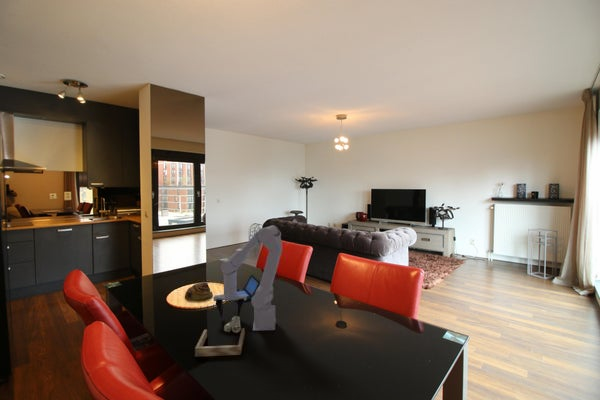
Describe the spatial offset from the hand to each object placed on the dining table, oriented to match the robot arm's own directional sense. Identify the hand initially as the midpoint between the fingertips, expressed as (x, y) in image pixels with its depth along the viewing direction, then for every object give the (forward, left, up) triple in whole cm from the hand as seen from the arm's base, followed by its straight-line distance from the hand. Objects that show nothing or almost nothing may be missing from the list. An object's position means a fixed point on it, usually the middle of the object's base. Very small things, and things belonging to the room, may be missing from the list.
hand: (230, 315), depth 126 cm
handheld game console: (-4, -27, -2) cm, 28 cm away
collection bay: (0, +20, -2) cm, 20 cm away
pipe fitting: (-2, +8, -2) cm, 9 cm away
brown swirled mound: (+22, -29, -2) cm, 36 cm away
